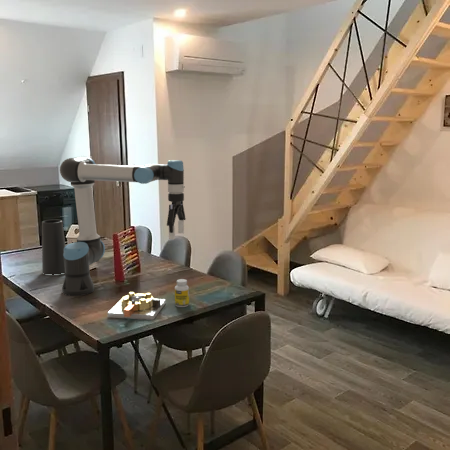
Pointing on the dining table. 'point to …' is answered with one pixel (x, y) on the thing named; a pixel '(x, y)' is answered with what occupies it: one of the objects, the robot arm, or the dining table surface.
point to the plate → (140, 314)
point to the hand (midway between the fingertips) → (176, 236)
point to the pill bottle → (181, 293)
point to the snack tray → (136, 303)
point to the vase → (53, 247)
